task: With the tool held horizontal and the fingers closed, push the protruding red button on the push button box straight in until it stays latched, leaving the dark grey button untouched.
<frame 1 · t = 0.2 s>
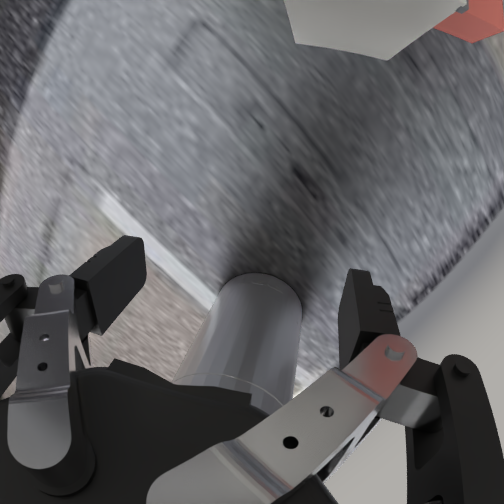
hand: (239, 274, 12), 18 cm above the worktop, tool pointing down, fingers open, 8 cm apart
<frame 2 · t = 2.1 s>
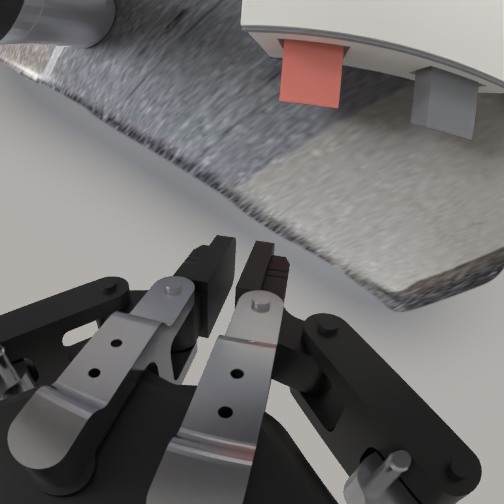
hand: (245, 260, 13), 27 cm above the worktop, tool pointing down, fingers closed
grey button: (443, 101, 23), point 8 cm above the worktop, slide at 0.0 cm
push button box: (371, 39, 28), on the worktop
red button: (311, 73, 25), point 8 cm above the worktop, slide at 0.0 cm
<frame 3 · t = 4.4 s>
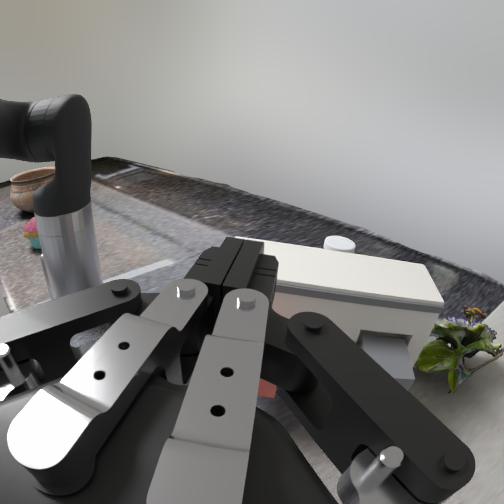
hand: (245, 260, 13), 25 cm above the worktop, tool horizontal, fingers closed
passion flower: (447, 373, 39), on the worktop
supplement bottle: (324, 312, 52), on the worktop
cupcake: (42, 245, 65), on the worktop
grey button: (380, 372, 29), point 8 cm above the worktop, slide at 0.0 cm
push button box: (308, 371, 40), on the worktop
cooking pot: (39, 210, 85), on the worktop
red button: (256, 357, 31), point 8 cm above the worktop, slide at 0.0 cm
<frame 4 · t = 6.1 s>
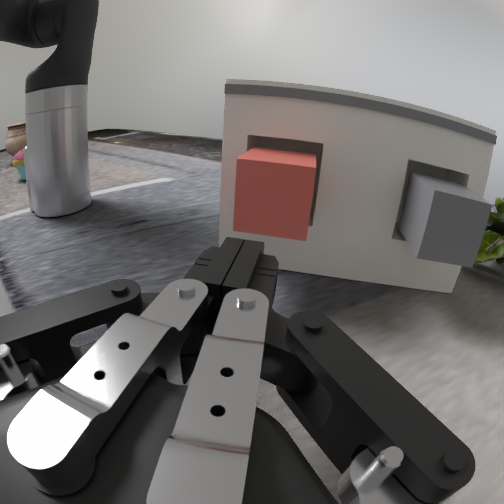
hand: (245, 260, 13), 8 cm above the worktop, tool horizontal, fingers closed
passion flower: (499, 277, 30), on the worktop
cupcake: (31, 178, 57), on the worktop
grey button: (441, 216, 21), point 8 cm above the worktop, slide at 0.0 cm
push button box: (340, 258, 31), on the worktop
cooking pot: (33, 159, 77), on the worktop
red button: (277, 188, 23), point 8 cm above the worktop, slide at 0.0 cm
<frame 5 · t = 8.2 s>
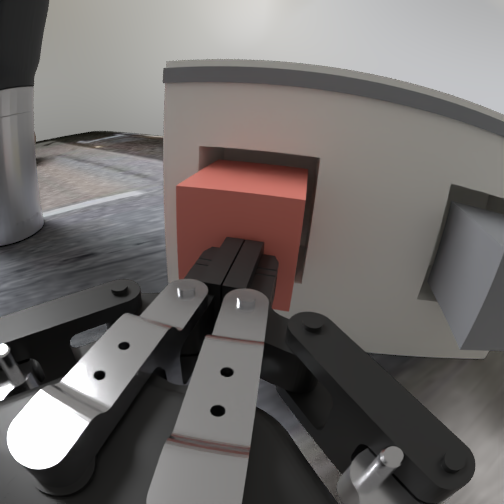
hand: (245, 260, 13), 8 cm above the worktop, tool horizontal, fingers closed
grey button: (495, 274, 13), point 8 cm above the worktop, slide at 0.0 cm
push button box: (341, 313, 23), on the worktop
red button: (249, 225, 15), point 8 cm above the worktop, slide at 1.4 cm, touching gripper
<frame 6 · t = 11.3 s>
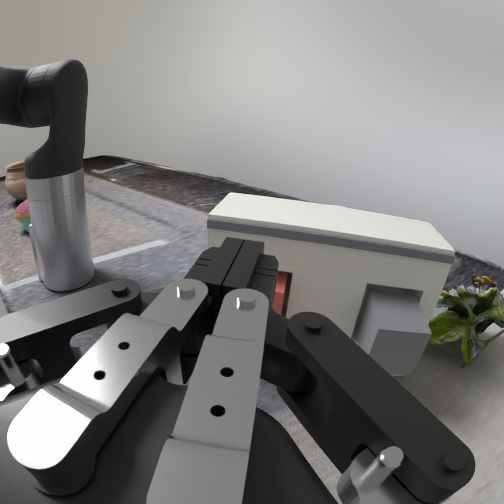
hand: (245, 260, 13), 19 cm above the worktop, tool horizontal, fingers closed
passion flower: (458, 349, 36), on the worktop
cupcake: (34, 229, 62), on the worktop
grey button: (390, 332, 27), point 8 cm above the worktop, slide at 0.0 cm
push button box: (310, 344, 37), on the worktop
cooking pot: (33, 199, 83), on the worktop
red button: (258, 294, 31), point 8 cm above the worktop, slide at 3.4 cm
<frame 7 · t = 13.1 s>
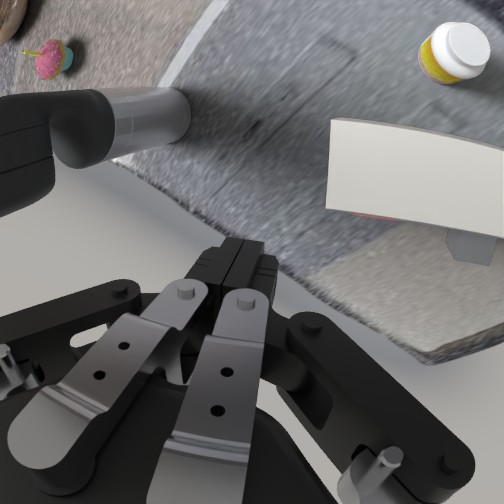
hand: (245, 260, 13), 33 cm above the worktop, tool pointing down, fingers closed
supplement bottle: (439, 61, 30), on the worktop
cupcake: (67, 59, 46), on the worktop
grey button: (472, 231, 31), point 8 cm above the worktop, slide at 0.0 cm
push button box: (421, 157, 37), on the worktop
cooking pot: (21, 13, 44), on the worktop
red button: (376, 185, 33), point 8 cm above the worktop, slide at 3.4 cm
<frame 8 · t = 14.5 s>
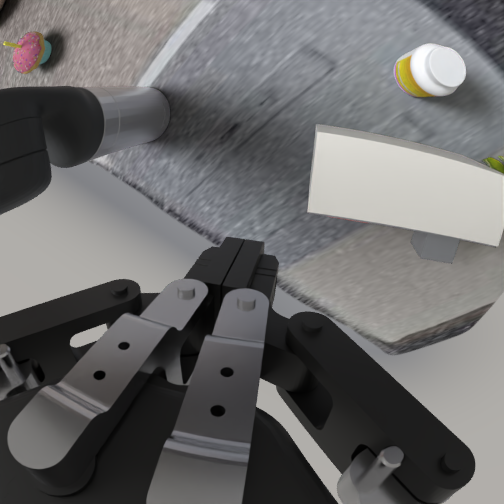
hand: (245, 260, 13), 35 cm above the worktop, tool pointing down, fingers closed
supplement bottle: (413, 75, 35), on the worktop
cupcake: (45, 52, 42), on the worktop
grey button: (437, 232, 37), point 8 cm above the worktop, slide at 0.0 cm
push button box: (390, 163, 42), on the worktop
red button: (350, 190, 37), point 8 cm above the worktop, slide at 3.4 cm
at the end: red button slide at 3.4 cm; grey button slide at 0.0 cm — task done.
